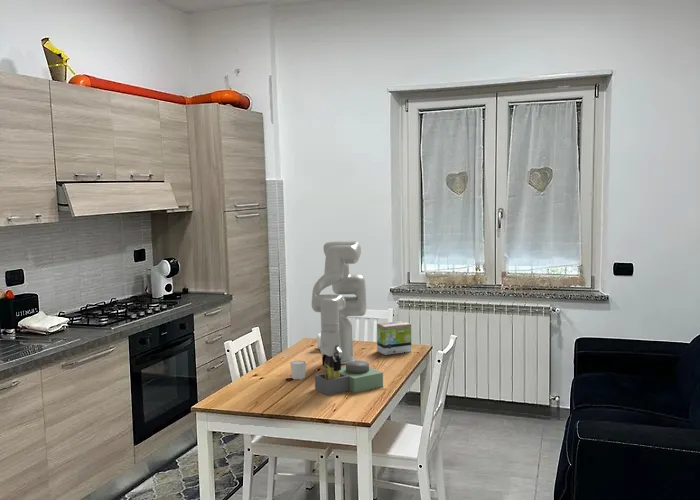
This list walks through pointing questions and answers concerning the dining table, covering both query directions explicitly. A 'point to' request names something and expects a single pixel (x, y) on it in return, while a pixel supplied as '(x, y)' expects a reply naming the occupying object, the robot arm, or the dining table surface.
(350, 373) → the grey and green blocks
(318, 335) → the white knot sculpture
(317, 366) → the dining table surface
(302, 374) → the shot glass
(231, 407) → the dining table surface
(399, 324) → the tea box
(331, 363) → the sauce bottle
